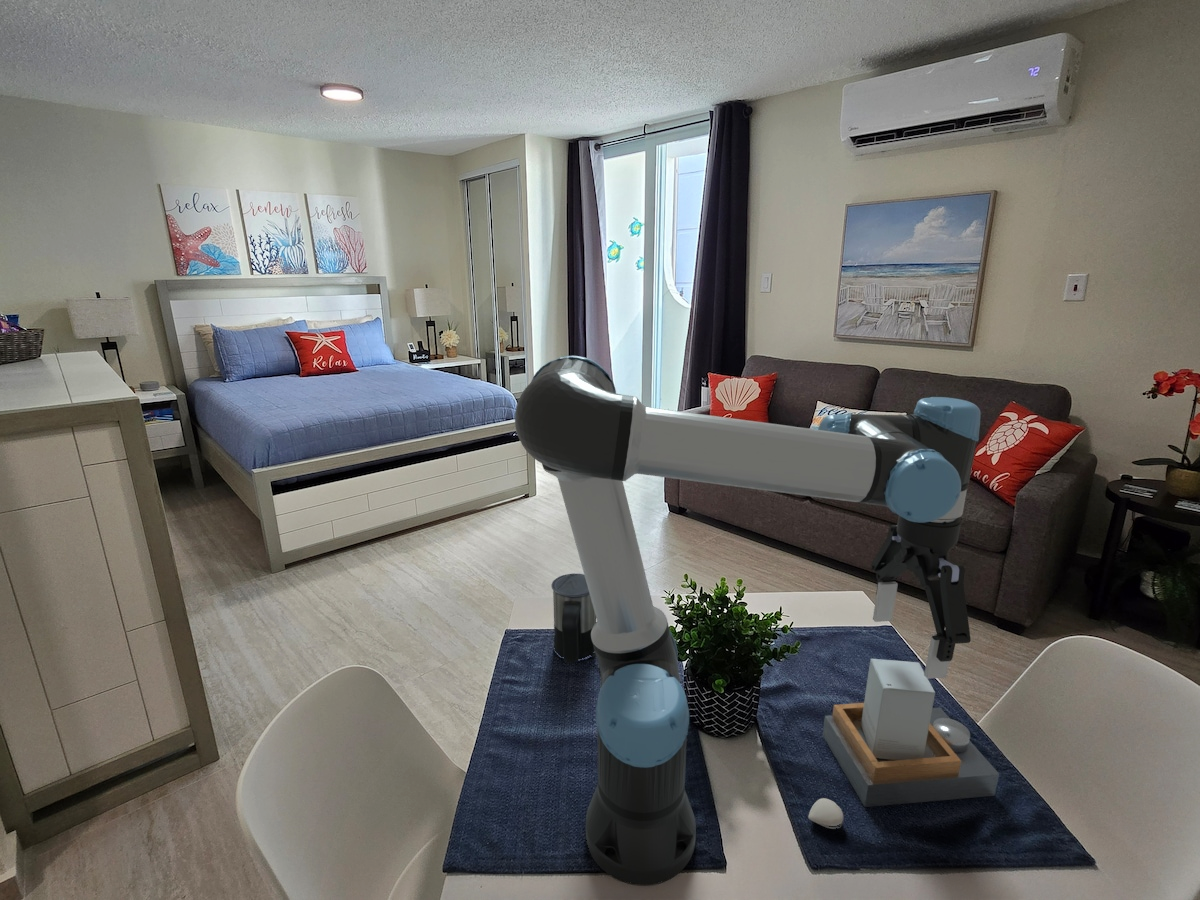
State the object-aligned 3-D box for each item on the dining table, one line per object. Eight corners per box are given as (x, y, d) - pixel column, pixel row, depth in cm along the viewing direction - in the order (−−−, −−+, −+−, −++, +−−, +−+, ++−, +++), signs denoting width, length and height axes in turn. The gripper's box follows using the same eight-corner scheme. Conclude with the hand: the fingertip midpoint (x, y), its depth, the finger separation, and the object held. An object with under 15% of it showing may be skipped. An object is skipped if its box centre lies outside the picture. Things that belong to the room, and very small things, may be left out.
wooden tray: (864, 807, 89) (870, 771, 87) (822, 735, 102) (826, 703, 100) (994, 795, 91) (1002, 760, 89) (936, 726, 104) (942, 694, 102)
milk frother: (549, 638, 129) (547, 575, 125) (622, 628, 132) (622, 566, 128) (561, 682, 116) (559, 613, 111) (641, 669, 119) (643, 601, 115)
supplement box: (923, 764, 91) (937, 693, 88) (871, 758, 93) (882, 688, 89) (908, 728, 98) (920, 661, 94) (859, 723, 99) (869, 656, 96)
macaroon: (848, 830, 86) (850, 816, 85) (816, 838, 84) (818, 824, 84) (829, 804, 90) (831, 791, 89) (799, 812, 88) (800, 798, 88)
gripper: (1025, 553, 72) (990, 703, 78) (905, 479, 96) (885, 599, 102) (964, 555, 71) (934, 707, 78) (858, 481, 95) (842, 601, 101)
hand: (906, 646), depth 90 cm, fingers open, 13 cm apart
